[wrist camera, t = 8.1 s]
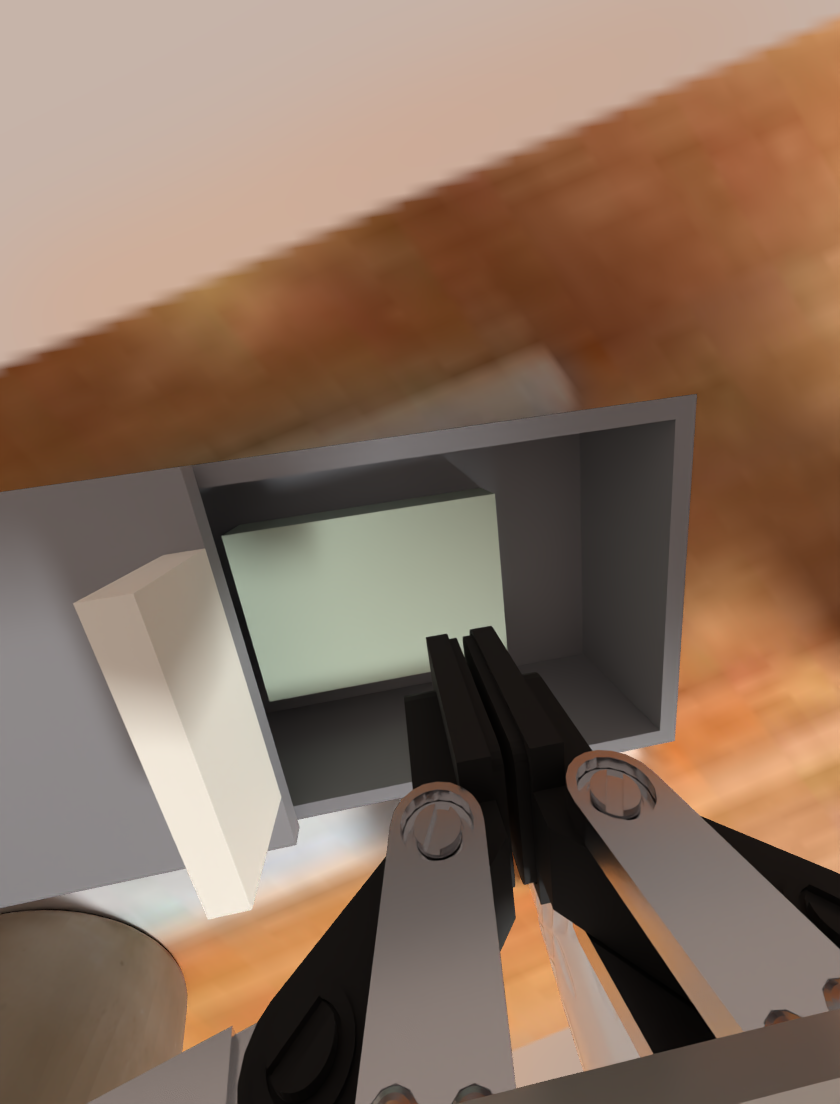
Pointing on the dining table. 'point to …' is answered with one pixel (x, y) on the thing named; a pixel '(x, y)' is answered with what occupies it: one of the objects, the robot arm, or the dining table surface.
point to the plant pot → (82, 1006)
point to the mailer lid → (128, 698)
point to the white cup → (582, 994)
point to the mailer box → (457, 579)
